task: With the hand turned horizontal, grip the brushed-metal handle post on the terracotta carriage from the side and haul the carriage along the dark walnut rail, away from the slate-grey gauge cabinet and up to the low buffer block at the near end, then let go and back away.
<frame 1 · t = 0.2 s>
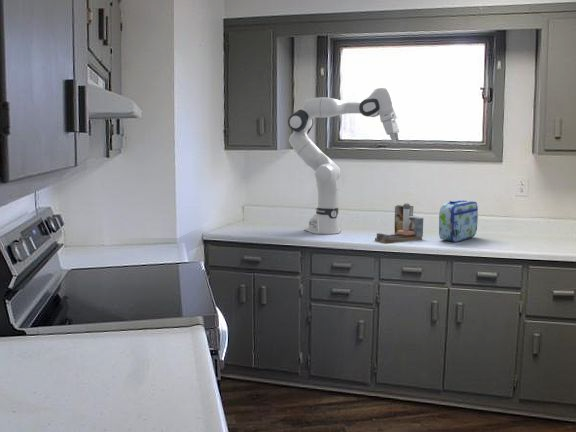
hand: (395, 141, 337), 51 cm above the table, tool tilted 15°, fingers open, 8 cm apart
coffee box: (403, 234, 349), on the table
lunch box: (457, 239, 334), on the table
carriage: (406, 218, 333), point 11 cm above the table, slide at 11.0 cm
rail: (398, 239, 331), on the table
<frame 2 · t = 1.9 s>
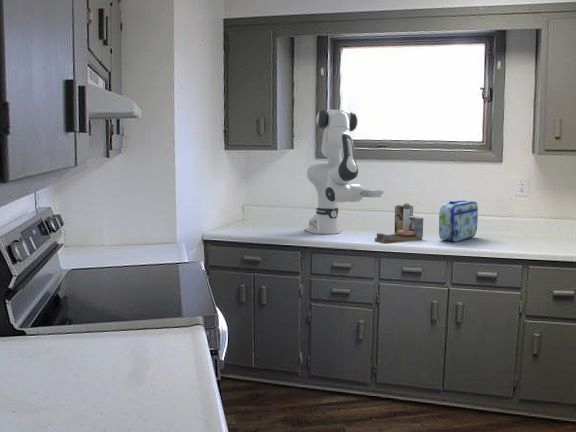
hand: (376, 191, 319), 26 cm above the table, tool horizontal, fingers open, 8 cm apart
nothing on the table moved.
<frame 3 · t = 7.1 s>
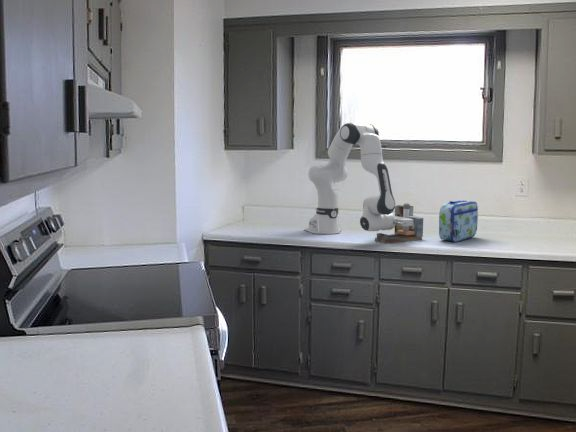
hand: (407, 219, 333), 11 cm above the table, tool horizontal, fingers closed on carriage, 3 cm apart
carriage: (406, 218, 333), point 11 cm above the table, slide at 11.0 cm, touching gripper
everything else where it was.
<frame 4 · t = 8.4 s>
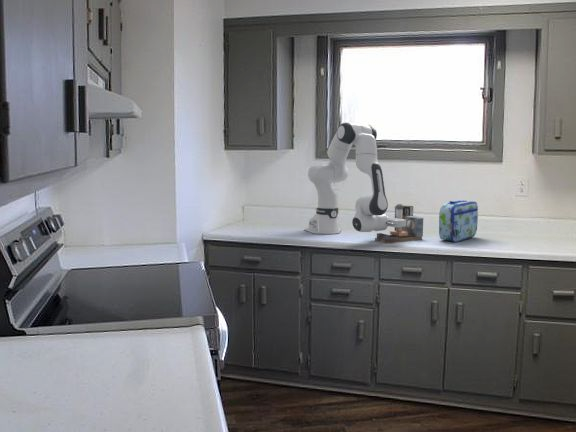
hand: (400, 220, 331), 11 cm above the table, tool horizontal, fingers closed on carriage, 3 cm apart
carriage: (399, 219, 330), point 11 cm above the table, slide at 6.0 cm, touching gripper
everything else where it was.
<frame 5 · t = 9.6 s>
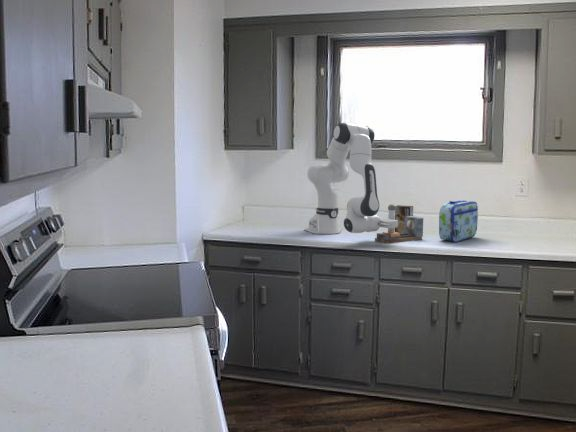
hand: (392, 220, 328), 11 cm above the table, tool horizontal, fingers closed on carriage, 3 cm apart
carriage: (391, 220, 327), point 11 cm above the table, slide at 0.6 cm, touching gripper
everything else where it was.
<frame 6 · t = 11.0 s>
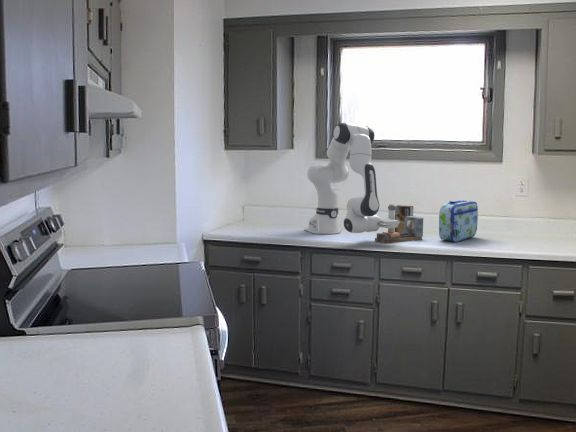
hand: (392, 220, 328), 11 cm above the table, tool horizontal, fingers open, 8 cm apart
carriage: (391, 220, 327), point 11 cm above the table, slide at 0.5 cm
everything else where it was.
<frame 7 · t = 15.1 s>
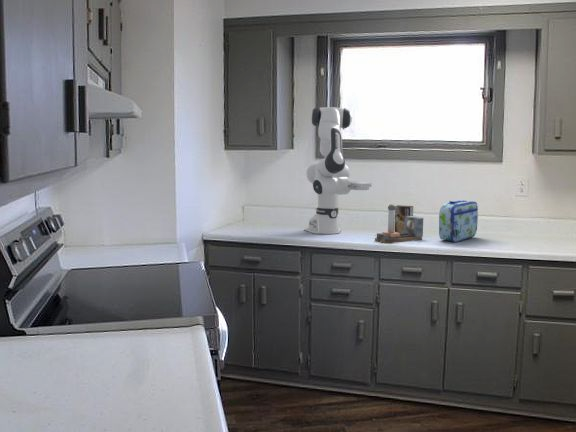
hand: (364, 184, 320), 30 cm above the table, tool horizontal, fingers open, 8 cm apart
nothing on the table moved.
at the end: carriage slide at 0.5 cm; the gripper is holding nothing; coffee box moved 0.2 cm from its start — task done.
